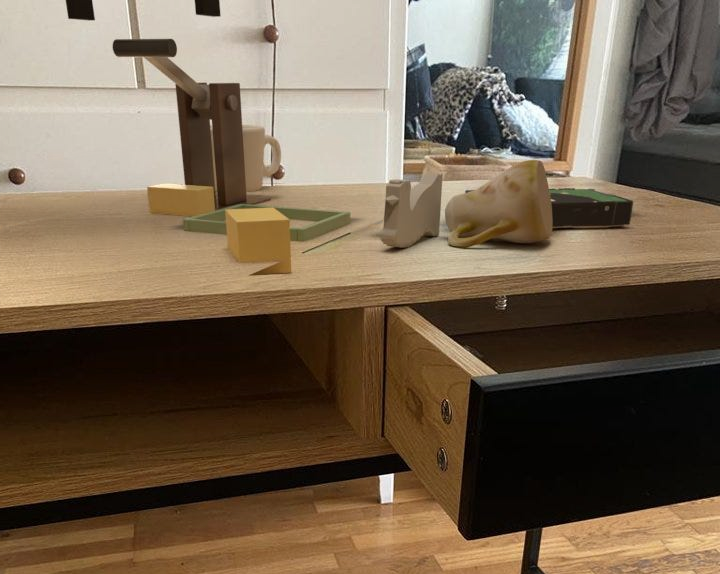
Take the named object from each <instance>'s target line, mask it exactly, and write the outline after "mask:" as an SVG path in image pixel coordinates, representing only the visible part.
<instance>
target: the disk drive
mask: <svg viewBox="0 0 720 574" xmlns="http://www.w3.org/2000/svg"><path fill="white" fill-rule="evenodd" d="M474 190H475V189H466V190H465V191H464V193H467V192H471V191H474ZM549 192H550V198H551V204H552V219H553V226H552V227H553V228H552V230H553V229H559V228H560V229H561V228H565V229H566V228H571V229H608V228H611V227H624V226H625V225H626V226H627V225H628V226H630V224H631V218H632V214H633V207H634V200H632V199H629V198H625V197H622V196H618V195H616V194H612V193H605V192H602V191H597V190H596V189H595V188H587V189H586V188H575V187H572V188H571V187H570V188H569V187H568V188H567V187H565V188H559V187H558V188H549Z"/></svg>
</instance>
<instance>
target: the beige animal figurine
mask: <svg viewBox="0 0 720 574" xmlns="http://www.w3.org/2000/svg"><path fill="white" fill-rule="evenodd" d="M411 183H412V182H411V180H410V179H399V178H398V179H397V178H395V179H389V181H388V183H386V185H385V198H384V199H385V200H384V213H383V214H384V216H383V225H382V226H383V228H382V229H381V231H380V233H379V234H380V235H379V239H380V241H381V242H382V244H383V245H386V247H393V248H394V247H395V248H402V249H403V248H410V246H413V244H415V243H416V242H418V241H419V240H420V239H421V237H422V236H427V237H428V236H429V237H436V236H437V237H438V236H440V228H441V227H440V226H441V225H440V224H441V210H442V209H441V206H442V193H443V173H439V172H424V174H423V176H422V177H421V179H420V180H419V182H418V183H417V184H415V185H414V186H413V187H412V184H411Z"/></svg>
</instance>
